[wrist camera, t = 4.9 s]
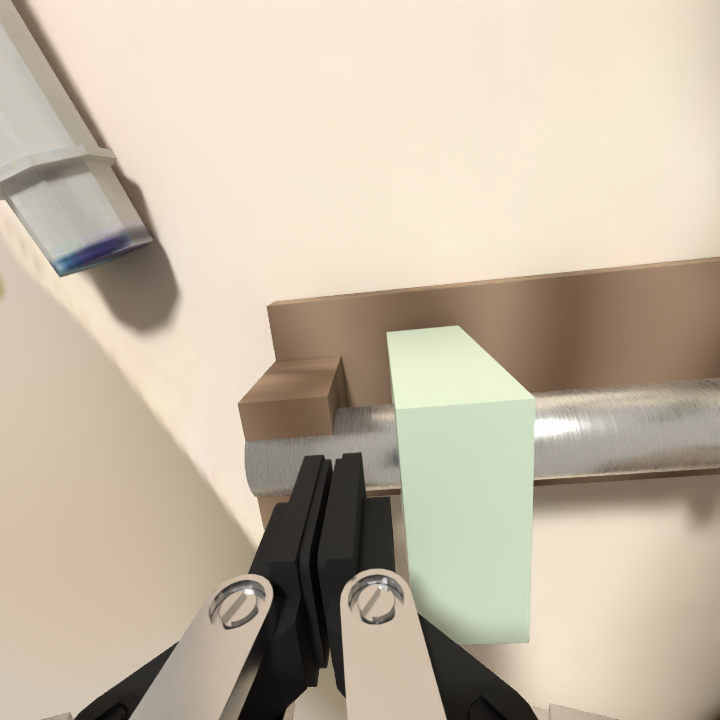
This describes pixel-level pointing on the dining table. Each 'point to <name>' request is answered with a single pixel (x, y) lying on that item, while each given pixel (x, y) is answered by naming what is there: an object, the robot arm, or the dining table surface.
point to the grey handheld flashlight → (57, 163)
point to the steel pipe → (552, 436)
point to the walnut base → (492, 343)
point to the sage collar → (464, 484)
